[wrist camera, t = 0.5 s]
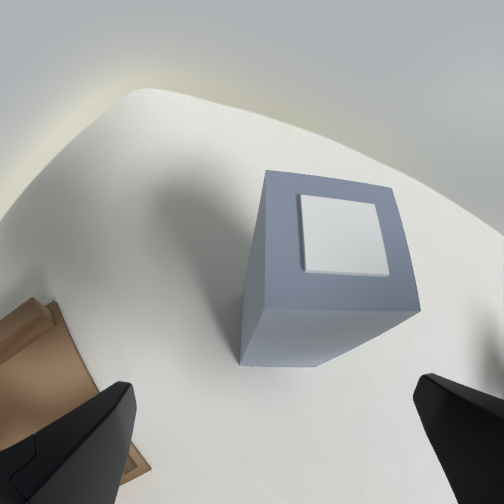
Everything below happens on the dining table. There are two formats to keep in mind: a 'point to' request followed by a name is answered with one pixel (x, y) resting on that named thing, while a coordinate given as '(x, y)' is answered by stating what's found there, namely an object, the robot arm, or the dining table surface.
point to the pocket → (44, 377)
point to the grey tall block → (323, 271)
